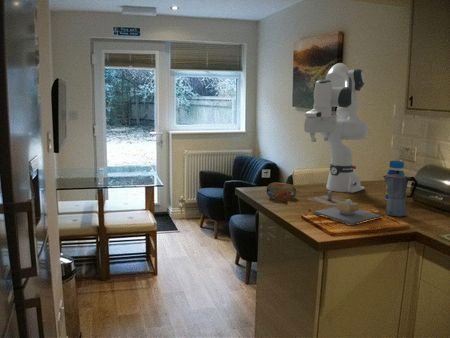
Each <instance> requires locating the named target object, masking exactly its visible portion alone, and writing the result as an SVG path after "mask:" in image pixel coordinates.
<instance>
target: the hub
mask: <svg viewBox="0 0 450 338" xmlns="http://www.w3.org/2000/svg"><path fill="white" fill-rule="evenodd" d="M351 201H352V199H349V198H347V199H345V204H348V205H349V204H352V203H351ZM314 214H315V216H317V215H324V216H327V217H329V218H332V219H335V220H338V221H341V222H344V223H347V224H350V225H353V224H357V223H360V222H363V221H366V220H370V219H374V218H379V217H381V218H382V215H381V214H378V213H374V212H370V211H366V210H363V209H359V211H354V212H350V213H348V212H345V211H341V210H338V209H337V206H332V207H329V208H323V209H319V210H314V211H313V215H314ZM350 225H349V226H350Z"/></svg>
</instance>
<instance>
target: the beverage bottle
mask: <svg viewBox="0 0 450 338" xmlns="http://www.w3.org/2000/svg"><path fill="white" fill-rule="evenodd" d="M389 168H390V169H388V172H387V173H386V175H393V174H396V171H397V170H398V171H399V174H400V175H404V176H406V175H405V172H404V170H403V169H404V168H405V162H404V161H402V160H390V161H389ZM385 187H386V188H385V196H384V199H385V200H386V201H388V190H387V184H386V186H385Z"/></svg>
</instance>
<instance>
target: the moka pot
mask: <svg viewBox="0 0 450 338" xmlns="http://www.w3.org/2000/svg"><path fill="white" fill-rule="evenodd" d="M404 175H405V174H404ZM404 175H400V174H399V171H398V170H397V171H396V174H393V175H387V174H386V175H383V176H382V177H383V179H384V181H385V184H386V185H387V190H388V201H387V200H386V201H387V203H386V208H385V215H387V216H389V217H391V216H392V217H407V207H406V206H407V205H406V198H407V199H411V198H413V196H414V194H415V192H416V189H417V187H418V185H419V181H418V180H417V179H416V178H415V176H408V175H405V176H404ZM409 182H414V185H413V187H412V188H411V189H412V190H411V192H410V194H409V195H407V190H408V183H409Z"/></svg>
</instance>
